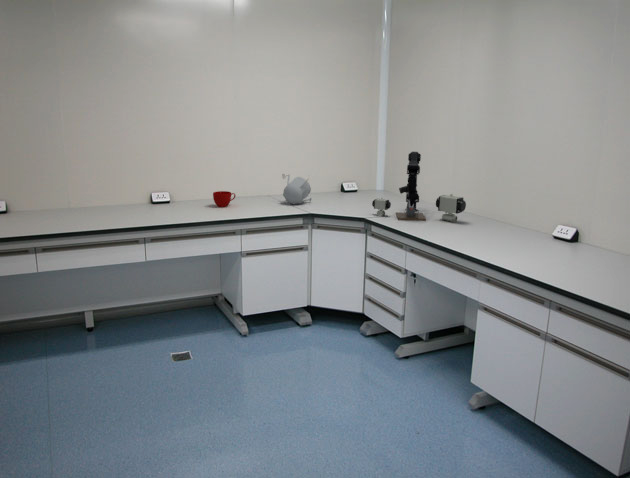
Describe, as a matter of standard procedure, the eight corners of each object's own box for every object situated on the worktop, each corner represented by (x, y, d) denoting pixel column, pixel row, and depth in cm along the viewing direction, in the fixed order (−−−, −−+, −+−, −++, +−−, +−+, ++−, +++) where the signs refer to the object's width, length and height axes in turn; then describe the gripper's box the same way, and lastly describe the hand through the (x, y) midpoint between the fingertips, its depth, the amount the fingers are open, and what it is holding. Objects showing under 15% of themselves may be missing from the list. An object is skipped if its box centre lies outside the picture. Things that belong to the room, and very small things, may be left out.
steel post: (407, 214, 364) (408, 199, 362) (412, 214, 364) (413, 199, 361) (408, 215, 361) (409, 200, 359) (413, 215, 361) (414, 200, 358)
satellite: (273, 182, 397) (301, 187, 385) (287, 169, 410) (316, 174, 398) (278, 207, 410) (306, 214, 398) (292, 194, 423) (319, 200, 411)
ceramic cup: (239, 206, 393) (239, 192, 391) (217, 208, 384) (217, 194, 382) (231, 203, 404) (231, 190, 401) (210, 205, 395) (209, 192, 392)
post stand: (395, 214, 372) (396, 204, 370) (422, 215, 371) (422, 205, 369) (398, 220, 355) (398, 209, 353) (425, 220, 354) (426, 210, 352)
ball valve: (465, 222, 351) (467, 195, 347) (459, 224, 345) (461, 196, 341) (440, 218, 363) (442, 191, 358) (434, 220, 357) (436, 193, 352)
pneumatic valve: (387, 217, 364) (388, 199, 361) (371, 215, 369) (372, 197, 366) (390, 215, 368) (391, 198, 365) (374, 213, 374) (375, 196, 371)
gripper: (398, 180, 366) (397, 202, 370) (401, 184, 348) (400, 208, 352) (415, 180, 366) (414, 203, 370) (418, 184, 348) (417, 208, 352)
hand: (411, 205), depth 361 cm, fingers closed on steel post, 3 cm apart
